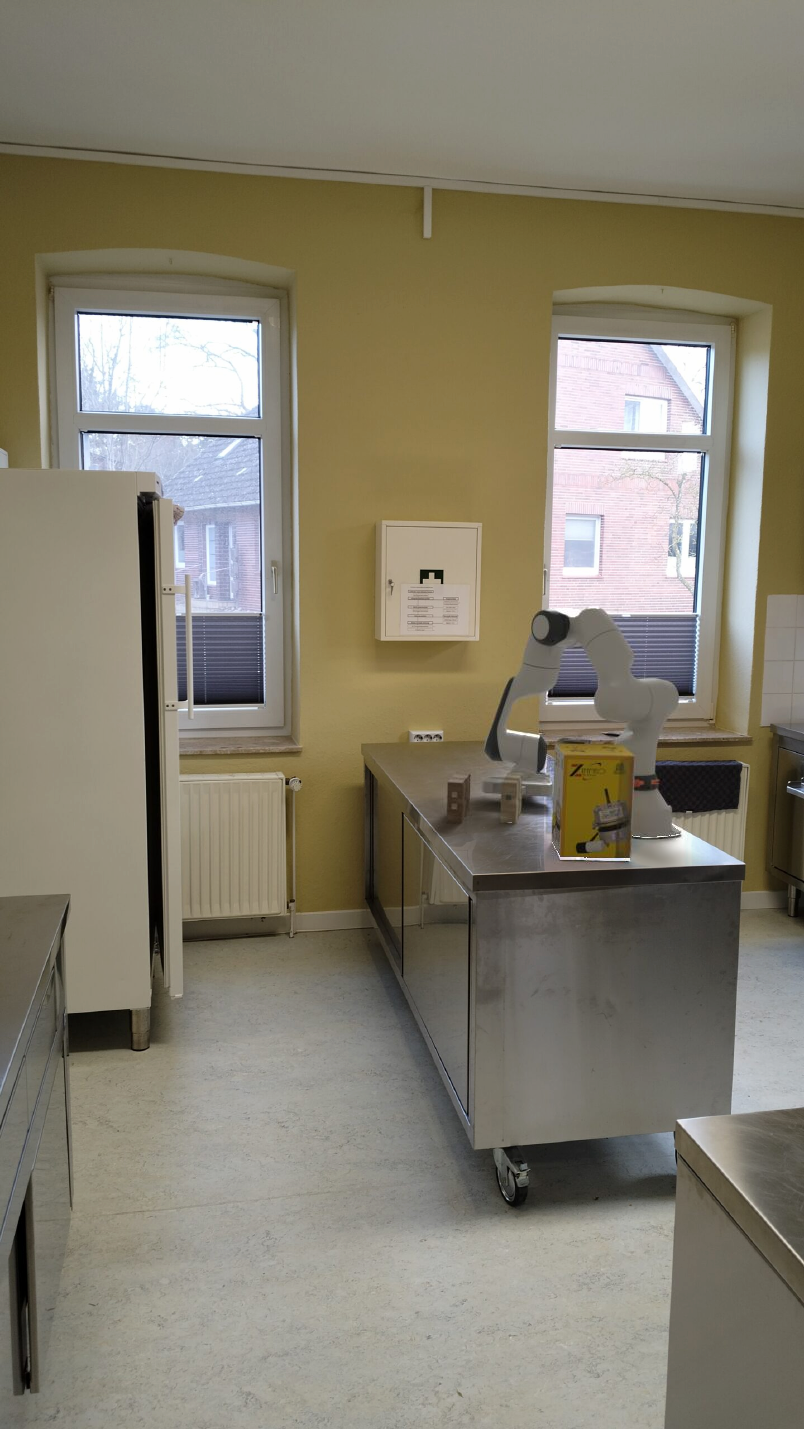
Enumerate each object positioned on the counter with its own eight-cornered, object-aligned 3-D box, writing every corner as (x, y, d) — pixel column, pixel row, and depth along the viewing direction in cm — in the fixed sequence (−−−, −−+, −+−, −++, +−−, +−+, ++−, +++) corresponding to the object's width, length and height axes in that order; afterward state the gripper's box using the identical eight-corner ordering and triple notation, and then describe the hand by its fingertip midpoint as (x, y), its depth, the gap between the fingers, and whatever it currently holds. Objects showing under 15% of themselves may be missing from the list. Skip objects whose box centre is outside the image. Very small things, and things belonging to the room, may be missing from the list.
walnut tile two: (455, 810, 283) (456, 772, 281) (469, 811, 282) (470, 773, 281) (446, 822, 269) (447, 782, 268) (461, 823, 268) (462, 783, 267)
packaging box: (630, 862, 234) (635, 756, 231) (560, 860, 234) (564, 754, 231) (617, 843, 250) (621, 744, 247) (551, 842, 250) (554, 743, 247)
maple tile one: (506, 811, 283) (507, 772, 282) (521, 812, 282) (522, 773, 281) (500, 823, 269) (501, 782, 268) (515, 824, 268) (516, 783, 267)
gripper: (485, 770, 297) (478, 779, 284) (555, 774, 293) (551, 783, 279) (484, 791, 298) (477, 801, 285) (554, 795, 294) (550, 805, 280)
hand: (514, 792), depth 282 cm, fingers closed
